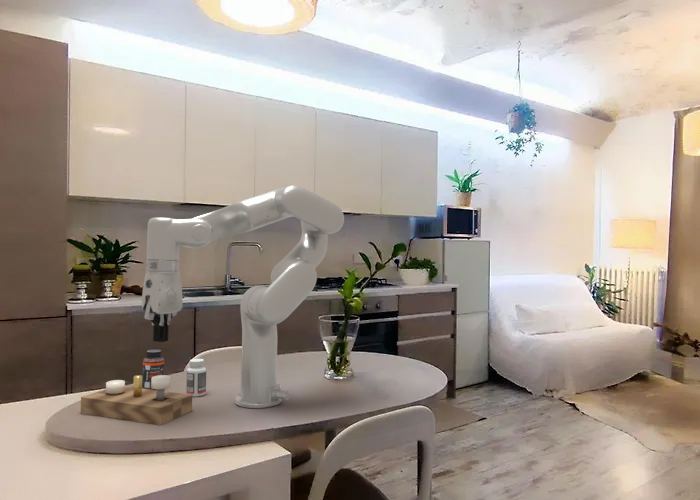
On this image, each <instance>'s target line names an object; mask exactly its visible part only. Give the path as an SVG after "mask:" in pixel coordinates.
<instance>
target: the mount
mask: <svg viewBox="0 0 700 500" xmlns="http://www.w3.org/2000/svg"><path fill="white" fill-rule="evenodd" d="M191 411H193V396H192V395H189V394H187V393H179V392H172V391H165V400H164V401H156V390H149V389H142V396H141V397H133V387H131V386H125V391H124V392H122V393H120V394H118V395H111V394H108V393H106V388H105V389H103V390H99V391H95V392H93V393H90V394H86V395H84V396H81V397H80V414H82V413H84V415H89V414H90V416H97V417H102V416H103V417H104V418H109V417H110V419H116V418H118V420H122V419H125V420H124V421H129V420H131V421H130V422H136V421H137V422H136V423H142V422H143V424H148V425H149V424H150V425H157V426H162V425H164V424H166V423H168V422H171V421H173V420H175V419H177V418H179V417H181V416H184V415H185V414H187V413H190V412H191Z"/></svg>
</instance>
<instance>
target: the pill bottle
mask: <svg viewBox="0 0 700 500" xmlns="http://www.w3.org/2000/svg"><path fill="white" fill-rule="evenodd" d="M188 363H189V364H188V365H189V367H188V368H187V369H186V394H189V395H192V398H193V397H200V396H204V395H206V394H207V368H206V367H205V366H204V365H205V359H204V358H192V359H190V360H189V362H188Z"/></svg>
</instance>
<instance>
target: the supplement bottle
mask: <svg viewBox="0 0 700 500" xmlns="http://www.w3.org/2000/svg"><path fill="white" fill-rule="evenodd" d="M158 375H165V358H164V357H162V350H161V349H148V350H147V351H146V357H145V358H143V359H142V389H149V390H156V389H152V388H151V378H152V377H153V376H158Z"/></svg>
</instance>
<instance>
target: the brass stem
mask: <svg viewBox="0 0 700 500" xmlns="http://www.w3.org/2000/svg"><path fill="white" fill-rule="evenodd" d="M141 396H142V375H140V374H138V375H134V376H133V397H141Z"/></svg>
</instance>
